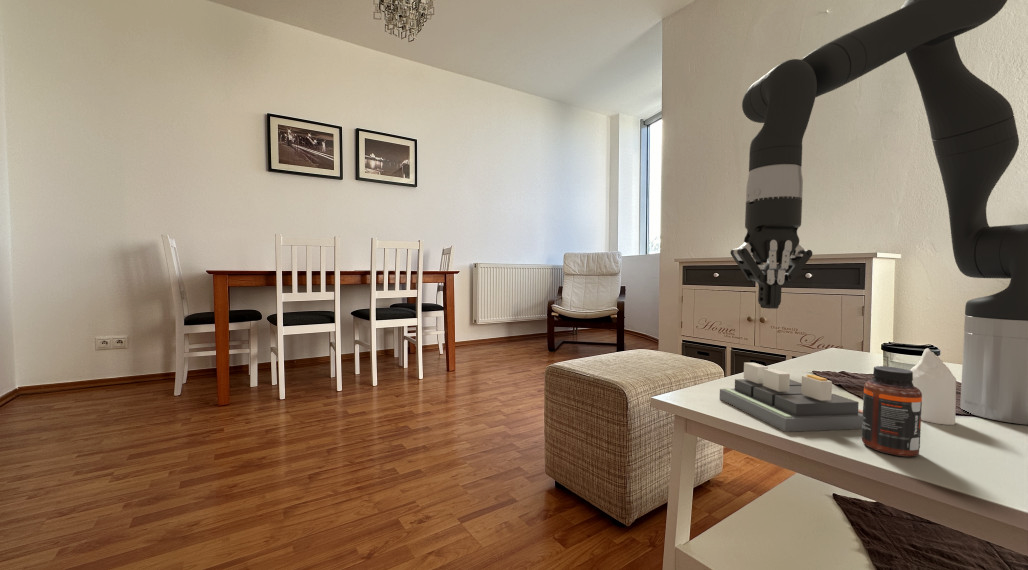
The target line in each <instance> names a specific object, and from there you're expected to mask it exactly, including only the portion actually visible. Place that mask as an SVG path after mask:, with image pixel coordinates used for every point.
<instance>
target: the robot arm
mask: <svg viewBox="0 0 1028 570" xmlns="http://www.w3.org/2000/svg"><path fill="white" fill-rule="evenodd" d="M1007 2H1008V0H905V1H904V3H903V4H902V6H901V7H900V8H899V9H898V10H895V11H893V12H892V13H889V14H886V15H885V16H882V17H881V18H879V19H875V20H873V21H871V22H869V23H866V24H865V25H863V26H860V27H858V28H856V29H854V30H852V31H849V32H848V33H845V34H843V35H841V36H839V37H837V38H835V39H833V40H831V41H829V42H827V43H824V44H823V45H821V46H819V47H817V48H816V49H815V48H814V50H812V51H811V52H809V53H807V55H805V56H804V57H802V58H801V59H799V58H791V59H787V60H785V61H783V62H781V63H779V64H778V65H776V66H774V67H773V68H772V69H770V70H769V71H768V72H766V74H764V75H763V76H762V77H760V78H758V79H757V80H756V81H755V82H753V83H752V84H751V85H750V86H749V87H748V88H747V90H746V91H745V93H744V96H743V98H742V102H741V108H742V111H743V114H744V116H745V118H747V119H748V120H750V121H752V122H754V123H758V124H763V125H762V127H761V129H760V130H759V131H758V133H757V134H756V135H755V136H754V137H753V138H752V140H751V142H750V146H749V156H748V157H749V161H748V177H747V181H746V188H745V189H746V190H745V194H746V195H745V212H744V213H745V215H744V217H745V218H744V228H745V229H746V230H747V231H746V235H745V237H744V239H743V243H742V244H741V245H740V246H739V247H736V248H732V249H731V250H730V255H731V257H732V259H733V260H734V261H735V263H736V264H737V266H738V268H739V269H740V270H741V272H742V273H743V275H744V276H745V278H746V279H747V280H748V281H753V282H756V284H758V294H757V295H758V296H757V297H758V299H757V302H758V304H759V306H760V307H761V308H762V309H770V310H771V309H772V310H773V309H774V310H775V309H776V310H777V309H778V308H779V307H780V305H781V302H782V286H783V285H784V283H787V282H789V281H791V282H792V281H794V280H795V278H797V276H798V274H799V273H800V272H801V271H802V269H803V268H805V266H806V264H807V263H808V262H809V260H810V259H811V258H812V256H813V251H812V250H811V249H804V247H802V246H801V245H800V237H799V235H798V229H799V228H800V227H801V225H802V217H803V216H802V215H803V214H802V213H803V191H804V189H803V187H804V179H803V170H802V165H803V164H802V161H803V138H804V135H805V133H806V131H807V128H808V124H809V121H810V117H811V114H812V112H813V109H814V105H815V101H816V98H818V97H820V96H823V95H824V94H827V93H830V92H833V91H836V90H837V89H839V88H841V87H843V86H844V85H848V84H849V83H851V82H853V81H855V80H857V79H858V78H861V77H863V76H864V75H867V74H868V73H870V72H872V71H873V70H876V69H878V68H879V67H881V66H883V65H885V64H886V63H888V62H890V61H892V60H894V59H896V58H898V57H900V56H902V55H904V54H905V55H906V57H907V59H908V62H909V64H910V67H911V69H912V72H913V74H914V78H915V79H916V83H917V85H918V88H919V92H920V96H921V100H922V103H923V106H924V111H925V113H926V117H927V121H928V124H929V125H928V126H929V130H930V131H929V132H930V138H931V142H932V145H933V152H934V154H935V157H936V162H937V165H938V168H939V173H940V175H941V180H942V184H943V187H944V193H945V197H946V202H947V208H948V210H947V211H948V216H949V226H950V227H949V229H950V236H951V237H950V238H951V245H952V252H953V257H954V261H955V264H956V266H957V267H958V268H957V269H958V270H959V272H961V273H962V275H964V276H965V277H968V278H974V279H1010V281H1009V284H1008V286H1007V287H1006V288H1005V289H1003V290H1001V291H999V292H996V293H993V294H990V295H986V296H981V297H976V298H972V299H969V300H967V301H966V303H965V308H964V325H963V348H962V349H963V350H962V366H961V367H962V368H961V385H960V386H961V387H960V403H959V404H960V405H959V406H960V407H959V408H961V409H963V410H965V411H967V412H969V413H968V414H970V413H971V415H974V416H976V417H981V418H984V419H985V418H986V419H989V420H994V421H999V422H1005V423H1010V424H1018V425H1019V424H1020V425H1026V426H1027V425H1028V223H1022V224H1020V223H1019V224H1009V225H993V226H990V225H989V224H988V223H989V222H988V218H987V206H988V202H989V198H990V197H991V194H992V192H993V190H994V188H995V187H996V185H997V183H998V182H999V180H1000V179H1001V178H1002V176H1003V175H1004V173H1005V171H1006V170H1007V169H1008V168H1009V166H1010V164H1011V163H1012V161H1013V160H1014V158H1015V155H1016V154H1017V151H1018V148H1019V146H1020V145H1019V143H1020V140H1019V139H1020V138H1019V134H1018V127H1017V124H1016V118H1015V114H1014V110H1013V107H1012V105H1011V103H1010V102H1009V100H1007V98H1005V96H1004V95H1003V94H1001V93H1000V92H999V91H998V90H996V89H995V88H993V87H992V86H991V85H990V84H988V83H986V82H985V81H983V80H982V79H980V78H979V77H978V76H976V75H975V74H974V73H972V72H971V71H970V70H969V69H968V68H967V66H965V64H964V62H963V61H962V59H961V56H960V53H959V51H958V47H957V45H956V41H955V37H957V36H960V35H962V34H965V33H968V32H970V31H971V30H974V29H977V28H978V27H980V26H982V25H983V24H985V23H987V22H988V21H990V20H991V19H993V18H994V17H995V16H997V15H998V13H999V12H1000V11H1001V10H1002V9H1003V8H1004V6H1005V5H1006V3H1007ZM764 263H765V264H764ZM961 409H960V410H961ZM963 410H962V411H963ZM965 411H964V412H965ZM967 412H966V413H967Z"/></svg>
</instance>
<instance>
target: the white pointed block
mask: <svg viewBox="0 0 1028 570" xmlns="http://www.w3.org/2000/svg"><path fill="white" fill-rule="evenodd" d="M909 370H910V371H912V372H913V381H912V383H913V386H914V387H917V388H918V389H919V390H920V391H921V393H922V408H921V409H922V410H921V421H923V422H927V423H931V424H936V425H937V424H938V425H944V426H945V425H947V426H953V425H956V408H957V407H956V403H957V401H956V400H957V399H956V397H957V379H956V377H955V375H954V374H953V372H952V371H951V370H950V368H949V367H948V366H947V364H946V363H944V361H943V360H942V359H941V358H940V357H939V356H937V355H936V354H935V353H934V351H931V350H930V348H928V347H927V348H925V349H924V350H923V353H922V355H921V358H920V359H919V361H918V362H917V363H916V365H914V366H913V367H911V368H910V369H909Z"/></svg>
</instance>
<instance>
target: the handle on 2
mask: <svg viewBox="0 0 1028 570" xmlns="http://www.w3.org/2000/svg"><path fill="white" fill-rule="evenodd" d="M790 376H791V374H790V373H789V372H785V371H782V370H779V369H775V368H768V369H763V386H765V387H768V388H770V389H773V390H776V391H778V392H782V391H789V382H790V380H791V378H790Z"/></svg>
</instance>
